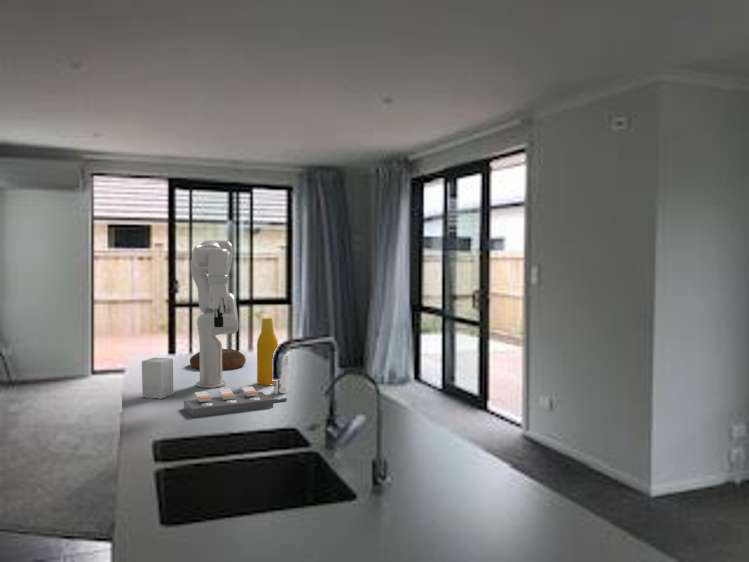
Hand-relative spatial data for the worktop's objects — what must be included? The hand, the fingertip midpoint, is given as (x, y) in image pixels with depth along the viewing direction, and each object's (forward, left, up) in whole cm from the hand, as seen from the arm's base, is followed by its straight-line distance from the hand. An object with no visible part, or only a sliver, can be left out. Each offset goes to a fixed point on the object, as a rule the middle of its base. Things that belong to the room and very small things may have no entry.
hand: (218, 326), depth 246 cm
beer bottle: (-20, +27, -29) cm, 45 cm away
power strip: (+13, +4, -29) cm, 32 cm away
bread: (-71, +18, -30) cm, 79 cm away
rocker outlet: (+11, -9, -25) cm, 28 cm away
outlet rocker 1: (+11, 0, -25) cm, 27 cm away
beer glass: (-1, +26, -29) cm, 39 cm away
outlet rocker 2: (+11, +9, -25) cm, 28 cm away
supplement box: (-18, -20, -29) cm, 40 cm away
